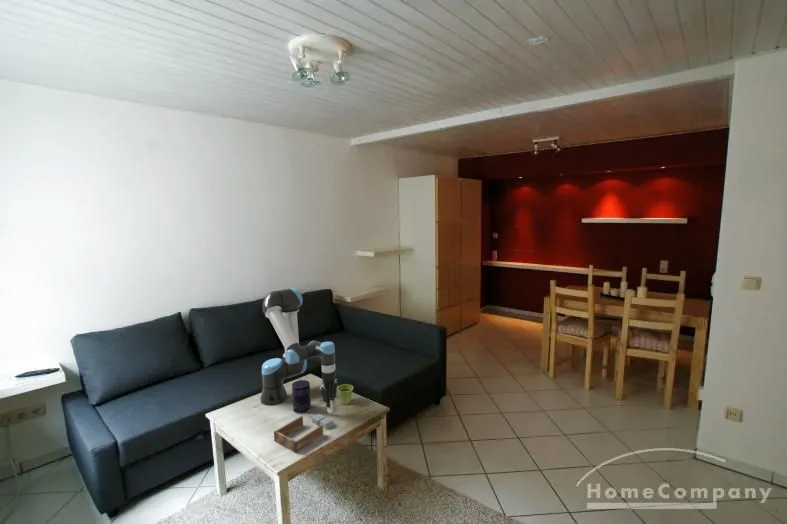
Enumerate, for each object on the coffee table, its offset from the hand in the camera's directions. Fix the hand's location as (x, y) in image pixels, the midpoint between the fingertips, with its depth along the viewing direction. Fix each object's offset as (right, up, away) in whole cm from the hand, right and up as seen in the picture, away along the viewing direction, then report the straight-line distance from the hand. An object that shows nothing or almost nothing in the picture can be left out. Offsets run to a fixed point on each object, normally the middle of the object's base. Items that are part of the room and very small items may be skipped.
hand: (330, 412), depth 204 cm
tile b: (0, -3, -10) cm, 11 cm away
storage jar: (-17, -1, +7) cm, 19 cm away
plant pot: (+7, 0, +15) cm, 16 cm away
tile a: (-5, -3, -6) cm, 9 cm away
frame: (-12, -4, -20) cm, 24 cm away
